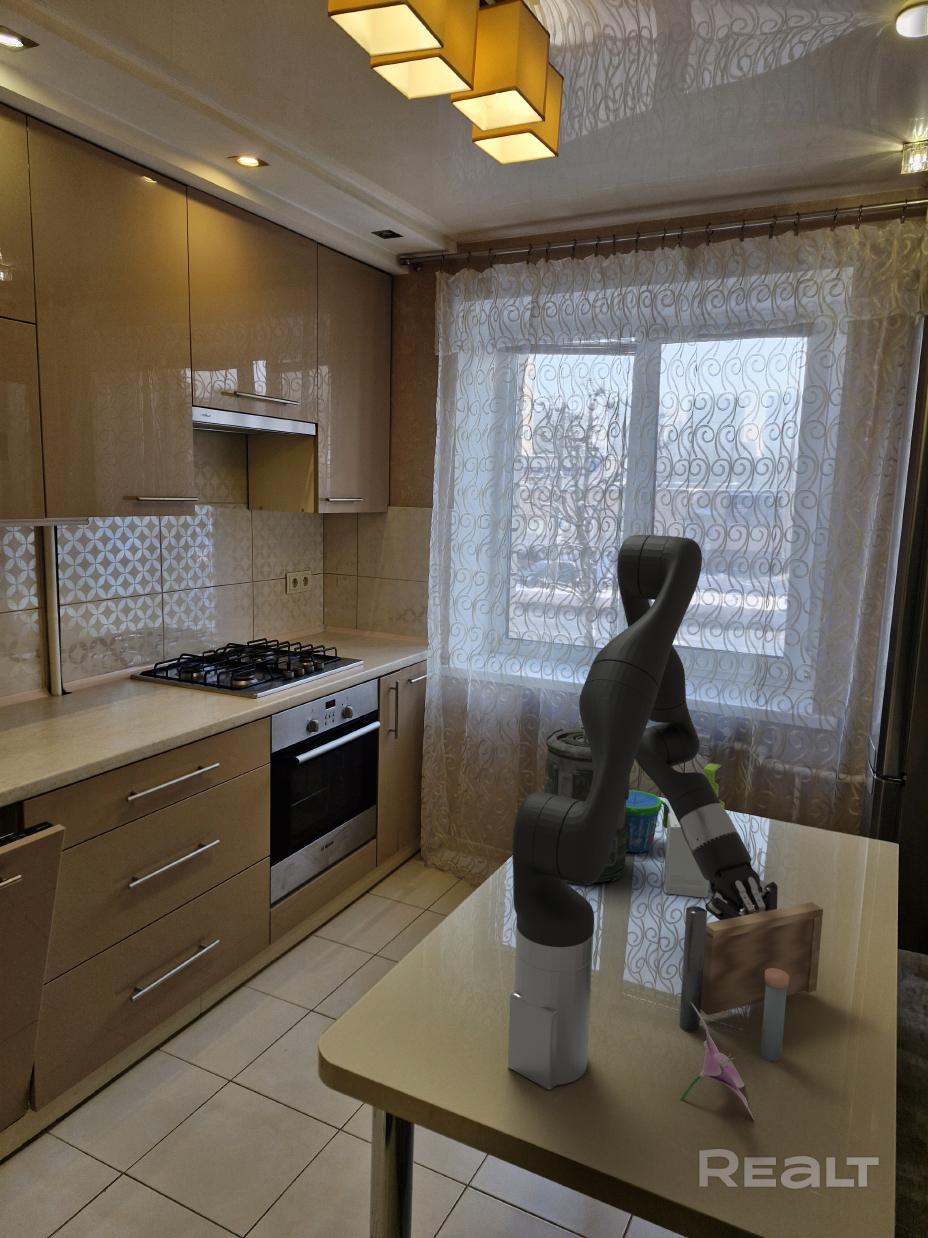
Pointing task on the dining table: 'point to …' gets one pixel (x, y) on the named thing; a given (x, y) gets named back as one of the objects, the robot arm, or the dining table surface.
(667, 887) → the supplement box
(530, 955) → the robot arm
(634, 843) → the snack cup
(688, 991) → the gatepost
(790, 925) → the gate
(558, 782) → the canister
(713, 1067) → the lily
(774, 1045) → the stop post
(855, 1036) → the dining table surface
